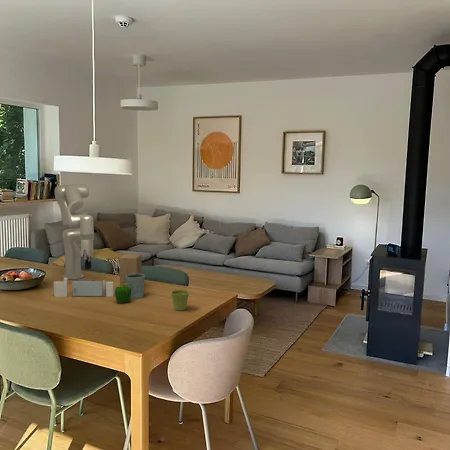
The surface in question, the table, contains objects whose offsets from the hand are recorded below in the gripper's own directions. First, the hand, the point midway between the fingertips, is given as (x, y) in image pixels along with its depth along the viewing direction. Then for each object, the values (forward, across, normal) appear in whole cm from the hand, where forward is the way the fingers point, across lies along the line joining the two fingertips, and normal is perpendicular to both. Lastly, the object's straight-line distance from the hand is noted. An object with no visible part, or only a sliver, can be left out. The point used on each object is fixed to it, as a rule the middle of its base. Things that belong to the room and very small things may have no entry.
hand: (88, 268), depth 259 cm
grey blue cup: (+13, +16, +30) cm, 36 cm away
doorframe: (+12, +16, +2) cm, 20 cm away
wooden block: (+12, +2, +25) cm, 28 cm away
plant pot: (+13, +37, +56) cm, 69 cm away
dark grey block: (+12, +8, -1) cm, 14 cm away
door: (+12, +17, +4) cm, 21 cm away
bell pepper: (+13, +26, +25) cm, 38 cm away
